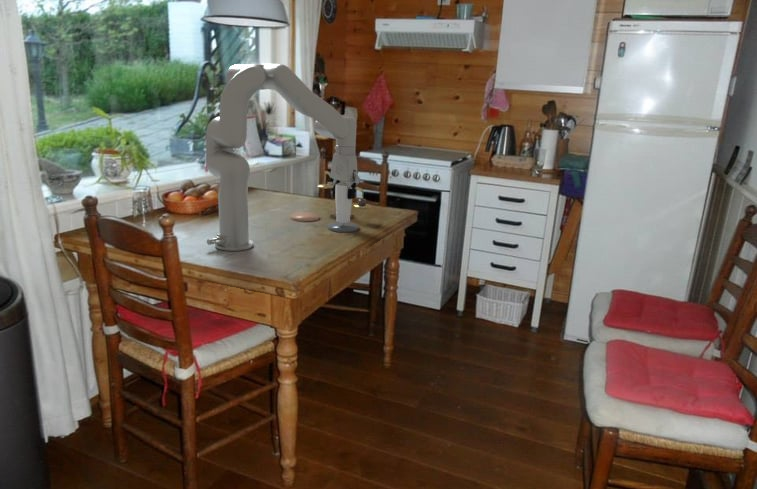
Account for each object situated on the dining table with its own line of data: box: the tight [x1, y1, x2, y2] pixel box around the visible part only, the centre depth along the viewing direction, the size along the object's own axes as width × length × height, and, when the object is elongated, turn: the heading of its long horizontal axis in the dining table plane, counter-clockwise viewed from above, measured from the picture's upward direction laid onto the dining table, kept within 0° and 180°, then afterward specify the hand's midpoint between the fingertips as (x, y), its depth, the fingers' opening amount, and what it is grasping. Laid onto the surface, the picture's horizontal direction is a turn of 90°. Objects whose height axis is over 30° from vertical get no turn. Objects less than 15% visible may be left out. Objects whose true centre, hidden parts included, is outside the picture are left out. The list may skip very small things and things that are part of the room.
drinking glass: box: [334, 182, 353, 224], centre depth 214 cm, size 7×7×15 cm
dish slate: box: [327, 221, 359, 233], centre depth 217 cm, size 12×12×1 cm
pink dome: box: [289, 211, 320, 223], centre depth 229 cm, size 12×12×1 cm
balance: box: [316, 170, 371, 220], centre depth 231 cm, size 8×29×18 cm, turn 50°
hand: (343, 196), depth 213 cm, fingers closed on drinking glass, 6 cm apart
